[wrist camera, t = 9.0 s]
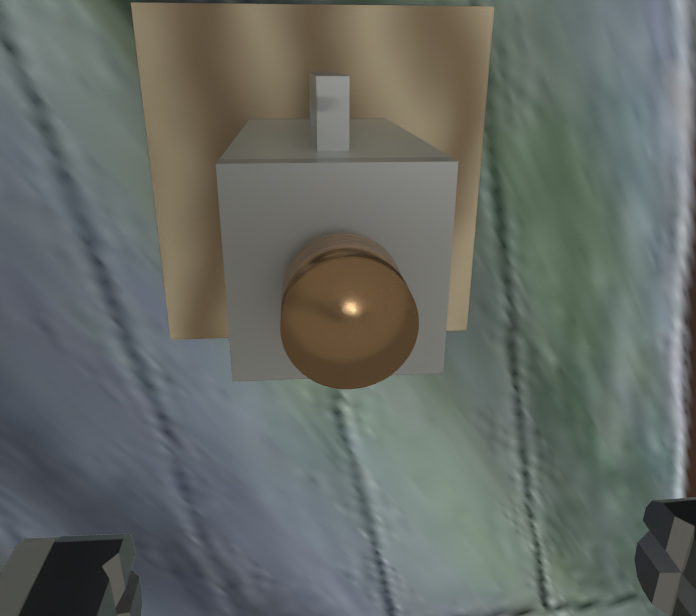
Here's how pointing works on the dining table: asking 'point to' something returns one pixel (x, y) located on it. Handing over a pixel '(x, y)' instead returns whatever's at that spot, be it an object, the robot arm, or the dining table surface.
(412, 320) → the plunger
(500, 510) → the dining table surface
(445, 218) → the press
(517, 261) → the dining table surface
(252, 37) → the board
